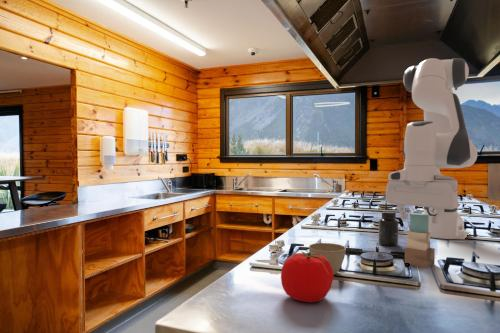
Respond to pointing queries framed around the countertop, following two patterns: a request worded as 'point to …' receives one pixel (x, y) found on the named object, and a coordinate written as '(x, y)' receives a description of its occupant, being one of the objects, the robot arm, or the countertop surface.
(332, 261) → the flower pot
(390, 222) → the supplement bottle
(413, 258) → the tower base
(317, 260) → the tomato
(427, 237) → the tower top
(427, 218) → the green cube
